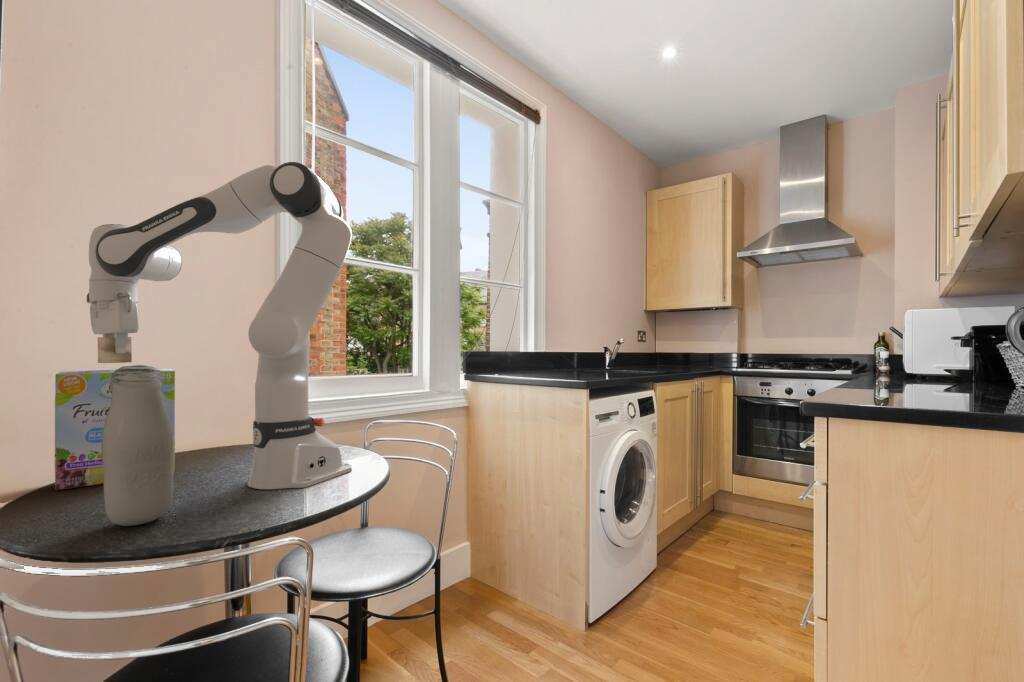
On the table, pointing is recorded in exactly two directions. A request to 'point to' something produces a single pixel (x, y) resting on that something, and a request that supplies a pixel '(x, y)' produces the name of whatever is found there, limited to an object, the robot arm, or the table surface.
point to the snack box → (90, 423)
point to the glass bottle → (137, 448)
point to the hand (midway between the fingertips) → (115, 353)
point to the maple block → (112, 351)
